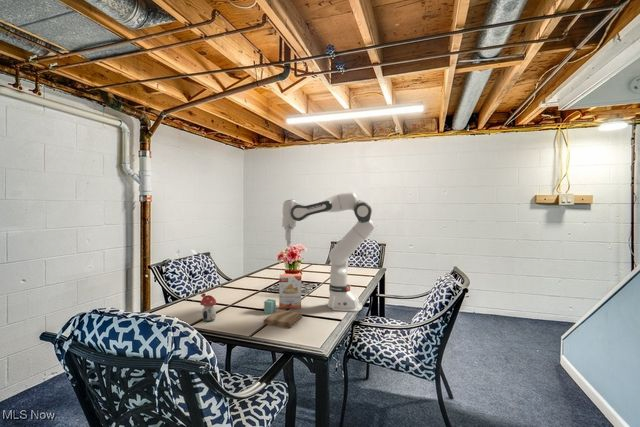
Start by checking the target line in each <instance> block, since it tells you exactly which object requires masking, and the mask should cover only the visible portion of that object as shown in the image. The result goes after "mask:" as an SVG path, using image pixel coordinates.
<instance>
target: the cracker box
mask: <svg viewBox="0 0 640 427" xmlns="http://www.w3.org/2000/svg"><path fill="white" fill-rule="evenodd" d="M278 278H279V280H278V282H279V283H278V284H279V285H278V286H279V292H278V294H279V296H278V297H279V298H278V302H279V304H278V308H279V310H283V309H302V274H300V273H299V274H298V273H297V274H294V273H292V274H291V273H290V274H288V273H285V274H284V273H281V274H280V273H279V277H278Z"/></svg>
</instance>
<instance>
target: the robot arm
mask: <svg viewBox="0 0 640 427" xmlns="http://www.w3.org/2000/svg"><path fill="white" fill-rule="evenodd" d="M348 210H351V211H353V213H354V216H355V217H356V219H357V222H356V224H355V225H354V226H352V227H351V229H350V230H349V231H348V232H347V233H346V234H345V235H344V236H343V237H342V238H341V239H340V240H339V241H338V242H337V244H335V246H334V247H333V248H332V249H331V250H330V252H329V253H328V258H329V259H328V260H329V261H330V263H331V264H330V274H329V277H330V280H329V288H328V290H329V296H328V302H327V307H328V308H330V309H331V310H332V311H338V312H339V311H340V312H355V313H357V312H359V311H361V310H362V309H363V304H362V303H361V302H360V300H359V297H358V296H357V295H356V294H355V293H354V292H353V291H352V290H351V285H349V284H348V266H349V259H350V258H349V257H351V255H353V254H354V252H355V251H356V250H357V249H358V248H359V247H360V246H361V244H363V243H364V242H365V240H366V239H368V237H369V236H370V235H371V233H372V232H373V231H374V228H375V224H374V222H373V221H372V219H371V216H372V212H373V208H372V205H371V204H370V203H369V202H367V201H363V200H360V199H359V198H358V196H357V194H356V193H355V192H350V191H349V192H342V193H338V194H335V195H332V196H330V197H327V198H326V199H324V200H322V201H319V202H317V203H312V204H307V205H305V204H302V203H300V202H298V201H296V200H295V199H287V200H284V202H283V204H282V227H283V229H284V230H285V232H284V234H285V235H284V237H285V238H284V239H285V241H286V246H287V247H291V242H292V237H293V233H294V230H295V228H296V227H297V222H300V221H302V220H307V219H308V218H309V217H310V216H311V215H312V216H313V215H315V214H321V213H340V212H343V211H348Z"/></svg>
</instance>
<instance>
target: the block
mask: <svg viewBox="0 0 640 427" xmlns="http://www.w3.org/2000/svg"><path fill="white" fill-rule="evenodd" d="M263 302H264V303H263V304H264V305H263V309H264V310H263V313H264V314H269V315H271V314H272V313H274V312H275V311H277V309H276V306H277V305H276V302H277V301H276V299H272V298H271V299H270V298H268V299H266V300H265V301H263Z"/></svg>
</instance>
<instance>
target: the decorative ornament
mask: <svg viewBox="0 0 640 427" xmlns="http://www.w3.org/2000/svg"><path fill="white" fill-rule="evenodd" d="M200 297H202V299H201V301H200V303H199V305H200V306H203V308H202V312H201V316H202V321H203V322H205V323H211V322H213V321H215V320H216V315H217V312H216V309H215V307H214V306H216V305H217V300H216V299H215V297H213V296H212V295H209V294H208V295H206V293H202V294H201V295H200Z"/></svg>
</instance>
